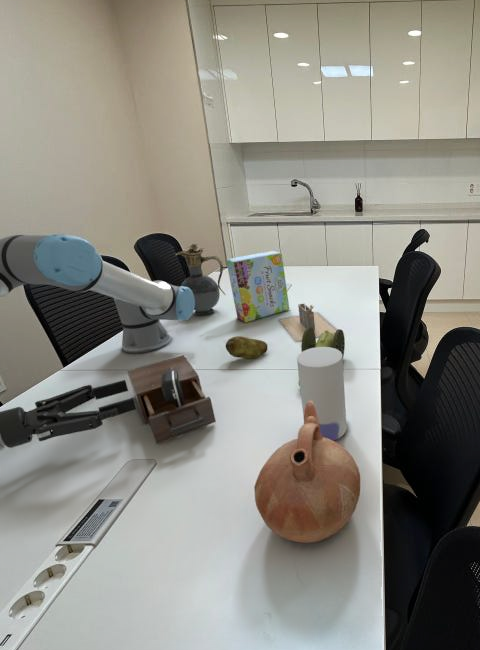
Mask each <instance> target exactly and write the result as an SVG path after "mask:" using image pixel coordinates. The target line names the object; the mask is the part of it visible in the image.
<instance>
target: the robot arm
mask: <svg viewBox="0 0 480 650" xmlns="http://www.w3.org/2000/svg"><path fill="white" fill-rule="evenodd" d="M24 285H46V286H47V285H49V286H53V287H58V288H61V289H64V290H68V291H72V292H75V293H85V292H88V291H91V292H94V293H98V294H101V295H103V296H107V297H110V298H113V302H114V304H115V307H116V311H117V313H118V317H119V319H120V322H121V326H122V340H121V346H122V349H123V351H124V352H126V353H129V354H141V353H142V354H143V353H148V352H152V351H155V350H158V349H161V348H163V347H165V346H167V345H168V344H170V341H171V337H170V334H169V330H166V328H165V327H164V325H163V324H162V322H161V321H179V322H180V321H187V320H189V319H191V316H193V314H194V312H195V310H194V307H195V299H194V295H193V292H192V291H191V289H190V288H188V287H184V286H181V285H180V286H178V285H173V284H171V283H169V282H166V281H163V280H159V279H158V280H157V279H156V280H153V281H152V280H149V279H147V278H145V277H142V276H140V275H138V274H135V273H133V272H131V271H128V270H125V269H123V268H121V267H118V266H116V265H114V264H112V263H110V262H107V261H104V260H103V258H102V256H101V254H100V253H99V252H97V251H96V247H95V246H94V245H93V244H92V243H90V242H89V241H87V240H86V239H84V238H82V237H79V236H76V235H72V234H71V235H70V234H64V233H63V234H62V233H61V234H60V233H59V234H58V233H57V234H51V235H50V234H49V235H47V234H45V235H44V234H42V235H41V234H40V235H39V234H38V235H37V234H14V235H8V236H5V237H2V238H0V297H1V298H2V297H6V296H8V294H9V293H10V292H12V290H14V289H16V288H18V287H21V286H24ZM160 320H161V321H160ZM126 392H129V388H128V385H127V381H126V379H123V380H118V381H115V382H112V383H111V382H110V383H108V384H103V385H100V386H97V387H93V386H92V384H86V385H83V386H80V387H77V388H75V389H71V390H69V391H66V392H64V393H60V394H57V395H55V396H52V397H49V398H45V399H41V400H37V401H35V402H34V405H35V407H36V408H33V409H31V410H29V411H25V409H24V408H23V407H21V406H17V407H13V408H10V409H9V408H8V409H5V410H1V411H0V452H1V451H4V450H5V448H6V447H7V448H9V449H12V448H16V447H18V446H22V445H25V444H28V443H31V442H32V440H33V436H34V435H36V436H37V439H38V441H39V442H44V441H47V440H50V439H53V438H56V437H60V436H66V435H71V434H76V433H80V432H86V431H89V430H94V429H98V428H100V427H101V426H103V425H104V424H103V421H104V420H108V419H110V418H113V417H117V416H120V415H123V414H126V413H130V412H133V411H137V406H136V402H135V397H129V398H127V399H123V400H120V401H117V402H112V403H110V404H107V405H103V406H99V407H97V408H98V409H97V410H88V411H77V412H76V411H75V412H70V411H72V410H73V409H75V408H77V407H79V406H81V405H83V404H85V403H87V402H89V401H92V400H94V399H95V400H96V401H97V400H102V399H104V398H108V397H111V396H115V395H119V394H122V393H126Z"/></svg>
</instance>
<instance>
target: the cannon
mask: <svg viewBox="0 0 480 650" xmlns="http://www.w3.org/2000/svg"><path fill="white" fill-rule="evenodd" d="M335 330H336V332H335V333H334V334H333V333H332V332H329V331H327V330H326V331H325V332H323V333H322V334H321V335H320V337H318V339H317V337H316V336H315V332H314V330H313V328H306V330H305V331H304V334H303V337H302V340H301V346H300V347H301V349H300V350H301V353H302V352H303V351H305V350H308V349H311V348H316V347H331V348H335V349H337V350H339V351H340V352H341V353H342V358H343V359H344V355H345V348H346V341H345V333H344V330H343V329H340V328H339V329H335ZM298 386H299V387H300V382H299V381H298Z"/></svg>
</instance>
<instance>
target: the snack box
mask: <svg viewBox="0 0 480 650" xmlns="http://www.w3.org/2000/svg"><path fill="white" fill-rule="evenodd" d="M225 262H226V266H227V267H226V268H227V272H228V277H229V282H230V287H231V293H232V298H233V303H234V307H235V308H234V309H235V313H236V317H237V319H239V320H241V321H242V322H244V323H245V324H246V323H249V322H251V321H256V320H258V319H262V318H265V317H268V316H271V315H275V314H279V313H281V312H285V311H288V310H290V304H289V303H290V302H289V296H288V289H287V282H286V281H287V280H286V274H285V267H284V266H285V265H284V261H283V253H282V252H280V251H275V250H269V251H263V252H258V253H253V254H247V255H243V256H236V257H232V258H228V259H225Z"/></svg>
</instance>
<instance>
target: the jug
mask: <svg viewBox="0 0 480 650" xmlns="http://www.w3.org/2000/svg"><path fill="white" fill-rule="evenodd" d="M255 480H256V481H255V484H254V486H253V487H254V490H253V491H254V501H255V506H256V509H257V511H258V513H259V515H260V517H261V518H262V521H263V522H264V524H265V526H267V527H268V528H269V530H270V531H271V532H273V534H275V535H278V536H279V537H281V538H283V539H285V540H287V541H292V542H296V543H300V544H303V543H304V544H315V543H318V542H319V543H320V542H322V541H324V540H326V539H329V538H330V537H332V536H333V535H335V534H336V533H338V532H339V531H340V530H342V529H343V528H344V527H345V526H346V524H347V523H348V522H349V521H350V520H351V518H352V516H353V515H354V513H355V511H356V508H357V507H358V502H359V499H360V494H361V474H360V469H359V467H358V465H357V463H356V461H355V458H354V457H353V456H352V454H351V453H349V451H348V450H347V449H346V448H345V447H344V446H342V445H341V444H339V443H338V442H336V441H335V440H334V441H332V440H330V439H327V438H324V437H322V435H321V433H320V426H319V422H318V418H317V413H316V410H315V406H314V403H313V401H308V402H307V404H306V407H305V412H304V417H303V425H302V426H300V428H299V429H298V434H297V438H295V439H292V440H290V441H288V442H285V443H284V444H282V445H281V446H280V447H278V448H277V449H276V450H275V451H274V452H273V453H272V454H271V455H270V456H269V457H268V458H267V460H266V462H265V463H264V464H263V466H262V468H261V469H260V471H259V474H258V476H257V478H256V479H255Z"/></svg>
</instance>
